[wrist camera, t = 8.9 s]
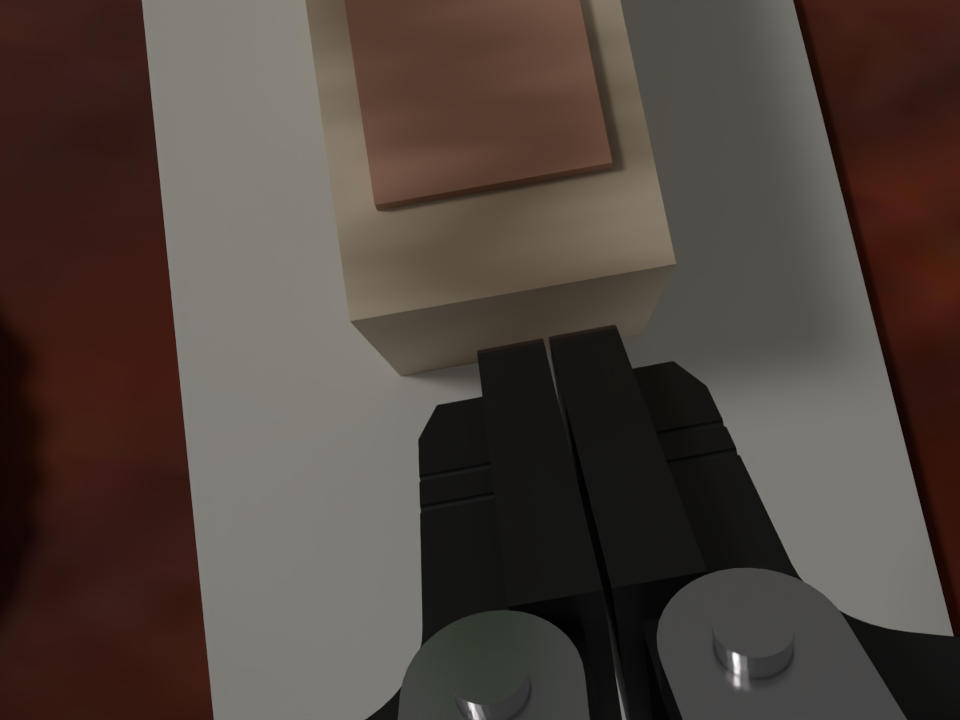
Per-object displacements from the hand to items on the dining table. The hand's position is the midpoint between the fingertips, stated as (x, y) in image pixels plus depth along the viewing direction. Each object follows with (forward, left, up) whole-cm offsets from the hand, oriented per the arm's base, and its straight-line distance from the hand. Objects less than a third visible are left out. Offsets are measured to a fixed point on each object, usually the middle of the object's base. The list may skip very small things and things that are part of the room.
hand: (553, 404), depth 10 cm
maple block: (0, +3, -9) cm, 10 cm away
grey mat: (0, +7, -13) cm, 14 cm away
